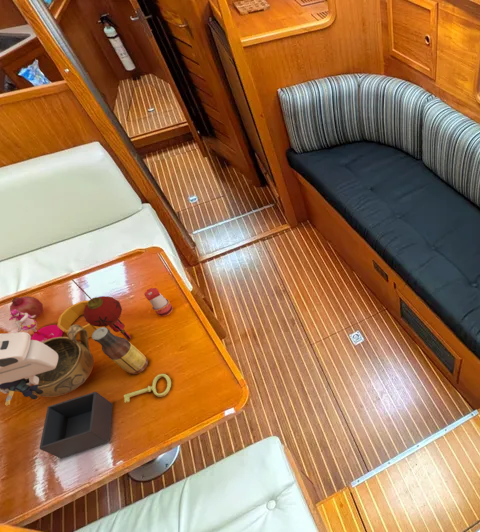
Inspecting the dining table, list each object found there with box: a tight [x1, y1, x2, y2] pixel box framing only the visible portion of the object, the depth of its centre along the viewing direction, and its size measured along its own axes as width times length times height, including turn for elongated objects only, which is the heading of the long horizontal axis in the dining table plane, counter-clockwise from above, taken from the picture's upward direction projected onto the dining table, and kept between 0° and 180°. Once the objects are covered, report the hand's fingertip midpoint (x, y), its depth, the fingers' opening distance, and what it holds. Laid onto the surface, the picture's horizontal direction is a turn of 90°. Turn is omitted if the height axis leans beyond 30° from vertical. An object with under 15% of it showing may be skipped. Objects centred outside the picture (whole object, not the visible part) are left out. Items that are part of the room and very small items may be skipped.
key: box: [123, 373, 172, 404], centre depth 115 cm, size 7×12×2 cm, turn 133°
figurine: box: [8, 309, 64, 342], centre depth 123 cm, size 10×10×15 cm
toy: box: [144, 287, 174, 317], centre depth 130 cm, size 5×8×15 cm
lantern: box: [71, 279, 132, 341], centre depth 117 cm, size 10×10×30 cm
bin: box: [38, 391, 114, 460], centre depth 106 cm, size 12×12×8 cm
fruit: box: [9, 295, 44, 320], centre depth 130 cm, size 8×8×10 cm
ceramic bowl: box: [14, 323, 95, 398], centre depth 114 cm, size 22×17×15 cm
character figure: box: [0, 378, 43, 407], centre depth 90 cm, size 9×4×12 cm, turn 163°
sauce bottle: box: [91, 326, 149, 375], centre depth 114 cm, size 7×6×20 cm
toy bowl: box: [56, 300, 106, 341], centre depth 130 cm, size 12×13×5 cm
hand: (23, 386), depth 91 cm, fingers closed on character figure, 3 cm apart
